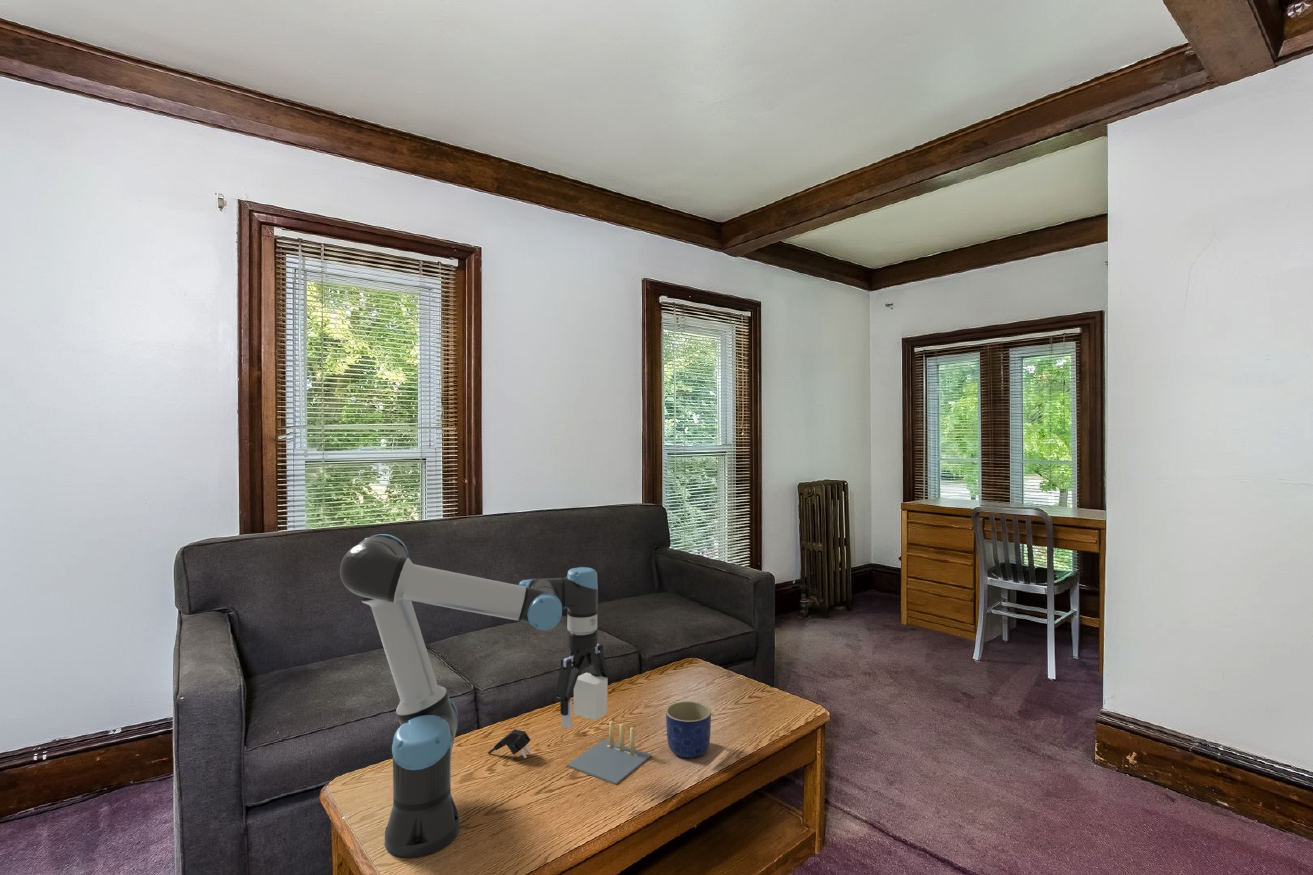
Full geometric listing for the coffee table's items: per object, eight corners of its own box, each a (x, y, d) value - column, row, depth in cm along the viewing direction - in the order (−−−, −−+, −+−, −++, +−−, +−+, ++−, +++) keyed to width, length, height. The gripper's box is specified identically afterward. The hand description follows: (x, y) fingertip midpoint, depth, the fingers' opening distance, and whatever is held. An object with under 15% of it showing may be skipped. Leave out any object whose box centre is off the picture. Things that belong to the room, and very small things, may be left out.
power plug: (491, 745, 170) (523, 721, 168) (507, 768, 169) (539, 744, 167) (482, 755, 164) (514, 731, 162) (498, 779, 163) (531, 755, 161)
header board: (616, 784, 152) (615, 754, 152) (567, 766, 160) (566, 738, 160) (651, 755, 165) (651, 728, 165) (604, 740, 174) (604, 714, 174)
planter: (720, 749, 168) (720, 709, 168) (691, 767, 159) (691, 725, 159) (686, 734, 177) (685, 697, 177) (656, 751, 168) (656, 711, 168)
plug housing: (595, 720, 152) (595, 684, 152) (573, 713, 156) (573, 678, 156) (607, 713, 157) (607, 677, 157) (586, 706, 160) (586, 672, 160)
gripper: (562, 646, 142) (562, 740, 142) (622, 620, 162) (622, 703, 162) (538, 641, 146) (538, 732, 146) (599, 616, 166) (599, 696, 166)
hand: (582, 717), depth 154 cm, fingers open, 11 cm apart
